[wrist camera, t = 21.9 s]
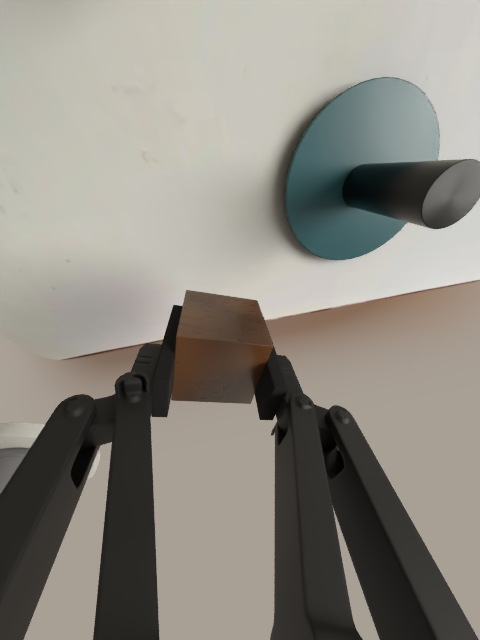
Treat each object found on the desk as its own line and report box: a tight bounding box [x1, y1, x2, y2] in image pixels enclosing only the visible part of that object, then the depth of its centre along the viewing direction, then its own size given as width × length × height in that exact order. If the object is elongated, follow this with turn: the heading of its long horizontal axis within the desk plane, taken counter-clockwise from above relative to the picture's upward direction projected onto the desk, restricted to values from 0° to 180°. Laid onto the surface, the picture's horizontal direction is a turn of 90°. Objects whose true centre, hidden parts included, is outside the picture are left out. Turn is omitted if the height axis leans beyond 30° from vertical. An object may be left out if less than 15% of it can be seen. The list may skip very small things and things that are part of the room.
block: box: [171, 290, 273, 404], centre depth 14 cm, size 5×5×5 cm
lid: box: [285, 77, 480, 260], centre depth 17 cm, size 15×15×11 cm
